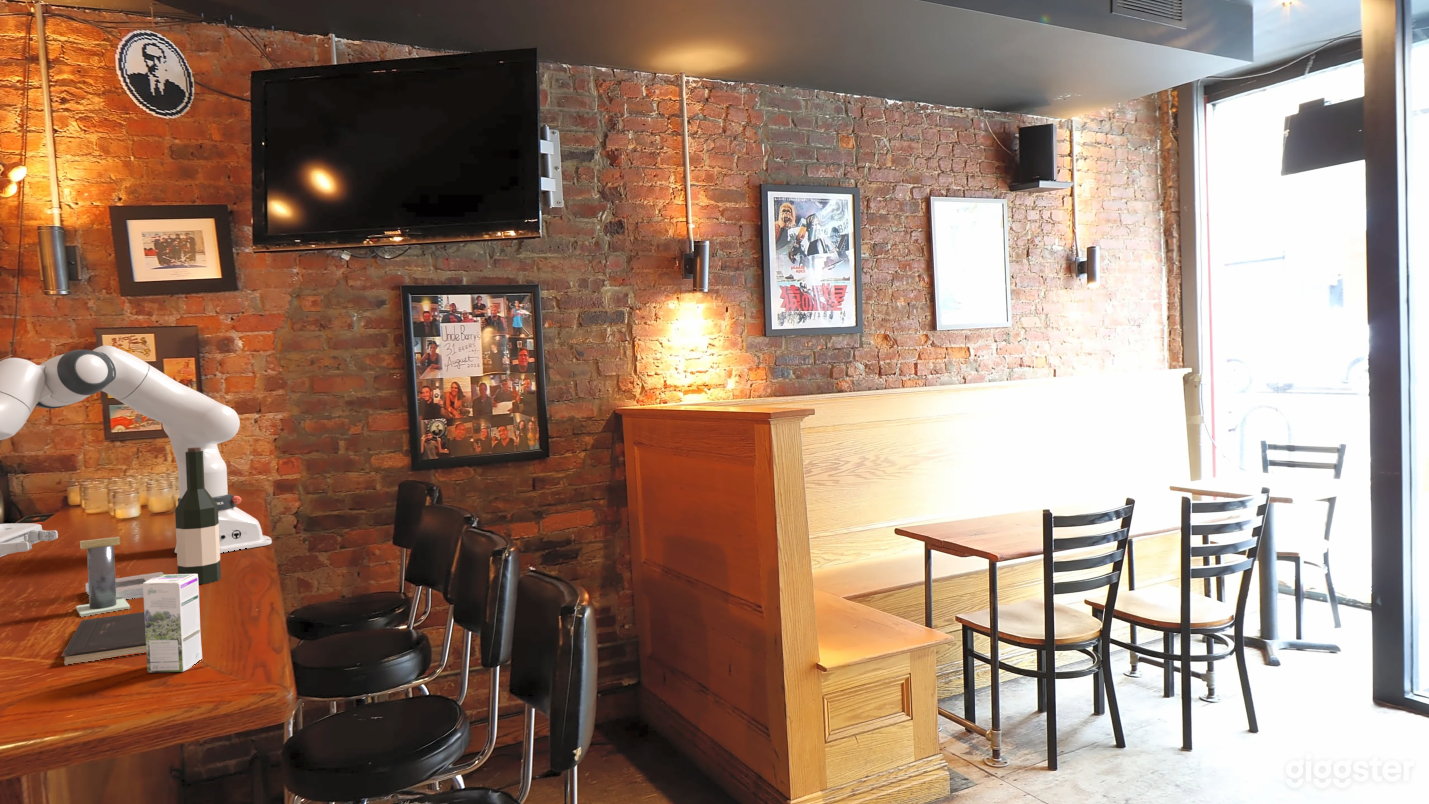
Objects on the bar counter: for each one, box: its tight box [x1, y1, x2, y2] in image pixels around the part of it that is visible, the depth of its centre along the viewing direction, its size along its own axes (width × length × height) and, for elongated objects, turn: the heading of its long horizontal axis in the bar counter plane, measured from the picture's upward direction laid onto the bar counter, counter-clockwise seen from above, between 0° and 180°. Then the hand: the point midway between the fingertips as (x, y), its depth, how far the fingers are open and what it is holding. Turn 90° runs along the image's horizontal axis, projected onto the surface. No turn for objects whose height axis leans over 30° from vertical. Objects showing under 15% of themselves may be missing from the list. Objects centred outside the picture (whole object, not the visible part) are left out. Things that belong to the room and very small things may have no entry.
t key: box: [79, 536, 121, 609], centre depth 173 cm, size 6×4×13 cm
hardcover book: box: [60, 611, 147, 666], centre depth 154 cm, size 16×23×2 cm
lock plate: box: [85, 571, 166, 601], centre depth 186 cm, size 14×14×2 cm
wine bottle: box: [174, 447, 222, 585], centre depth 195 cm, size 8×8×30 cm
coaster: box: [75, 598, 131, 618], centre depth 174 cm, size 8×8×1 cm
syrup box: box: [143, 573, 203, 673], centre depth 138 cm, size 6×6×14 cm
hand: (43, 540), depth 173 cm, fingers open, 8 cm apart
